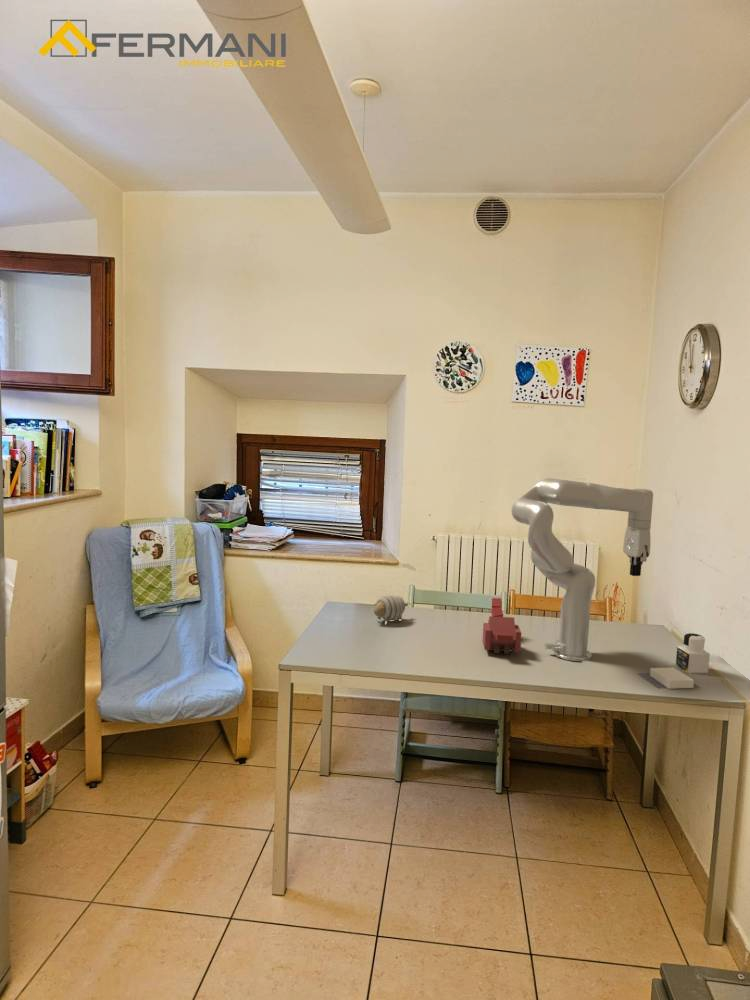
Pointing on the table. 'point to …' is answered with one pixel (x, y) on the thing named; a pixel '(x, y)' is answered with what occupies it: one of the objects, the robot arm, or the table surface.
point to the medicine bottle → (693, 654)
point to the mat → (655, 682)
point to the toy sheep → (390, 607)
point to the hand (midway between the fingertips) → (635, 575)
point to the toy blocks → (501, 631)
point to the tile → (671, 678)
